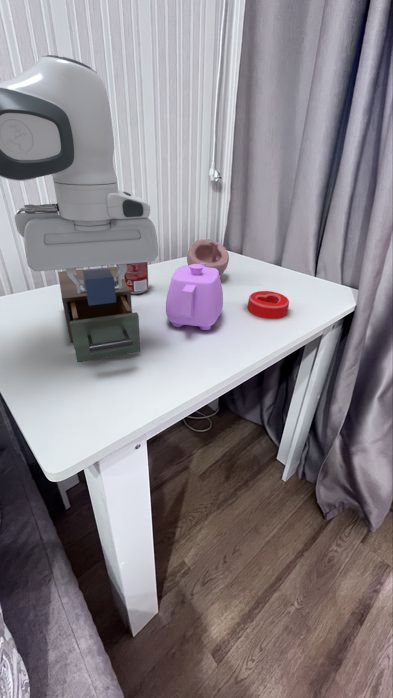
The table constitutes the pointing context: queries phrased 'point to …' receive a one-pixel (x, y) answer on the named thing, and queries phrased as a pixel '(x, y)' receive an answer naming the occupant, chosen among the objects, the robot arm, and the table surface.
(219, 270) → the mortar and pestle
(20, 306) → the table surface
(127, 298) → the cabinet
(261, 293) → the decorative ornament
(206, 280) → the teapot
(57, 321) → the table surface
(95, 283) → the block
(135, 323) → the drawer
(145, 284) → the soda can
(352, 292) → the table surface
